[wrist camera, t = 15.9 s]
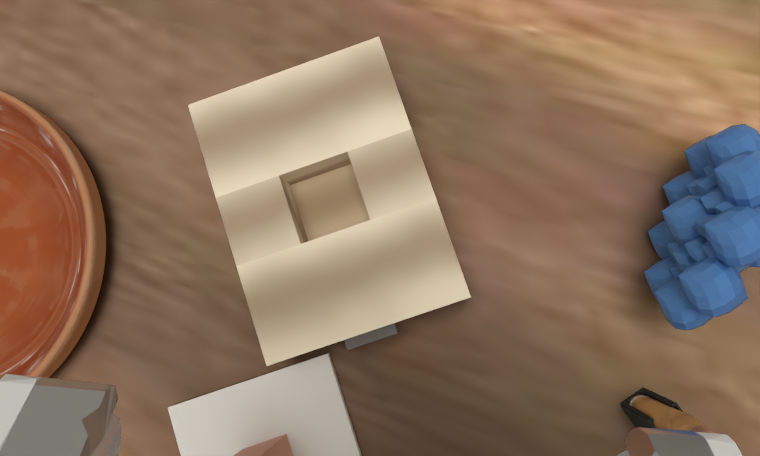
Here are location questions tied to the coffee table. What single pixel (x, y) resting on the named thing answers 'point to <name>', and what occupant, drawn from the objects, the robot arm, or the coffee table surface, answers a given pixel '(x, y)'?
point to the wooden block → (269, 448)
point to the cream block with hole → (327, 203)
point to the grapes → (709, 229)
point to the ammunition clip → (659, 413)
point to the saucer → (45, 242)
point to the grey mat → (270, 414)
